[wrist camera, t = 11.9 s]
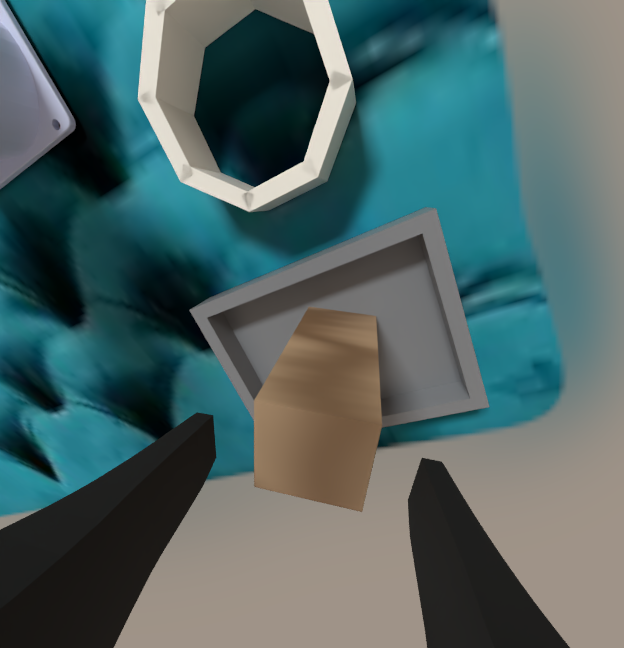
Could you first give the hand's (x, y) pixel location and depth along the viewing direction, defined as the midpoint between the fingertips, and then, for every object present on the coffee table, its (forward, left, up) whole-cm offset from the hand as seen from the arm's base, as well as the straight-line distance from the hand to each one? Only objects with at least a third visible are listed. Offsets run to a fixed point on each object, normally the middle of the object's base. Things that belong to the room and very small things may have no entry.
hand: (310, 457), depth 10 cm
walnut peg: (0, 0, -9) cm, 9 cm away
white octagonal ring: (+1, +13, -10) cm, 16 cm away
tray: (0, 0, -10) cm, 10 cm away
